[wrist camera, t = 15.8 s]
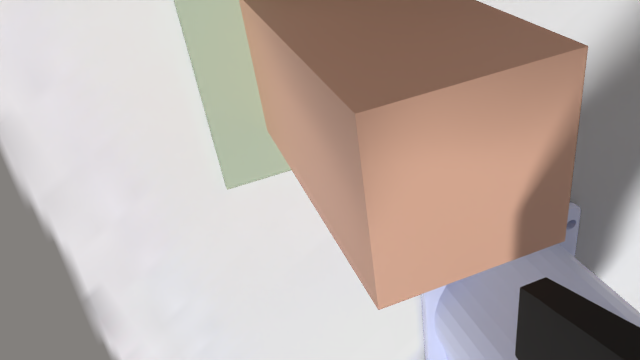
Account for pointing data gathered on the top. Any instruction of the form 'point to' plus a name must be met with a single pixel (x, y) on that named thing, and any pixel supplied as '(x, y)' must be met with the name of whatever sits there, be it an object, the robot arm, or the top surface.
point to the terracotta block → (421, 131)
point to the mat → (229, 90)
